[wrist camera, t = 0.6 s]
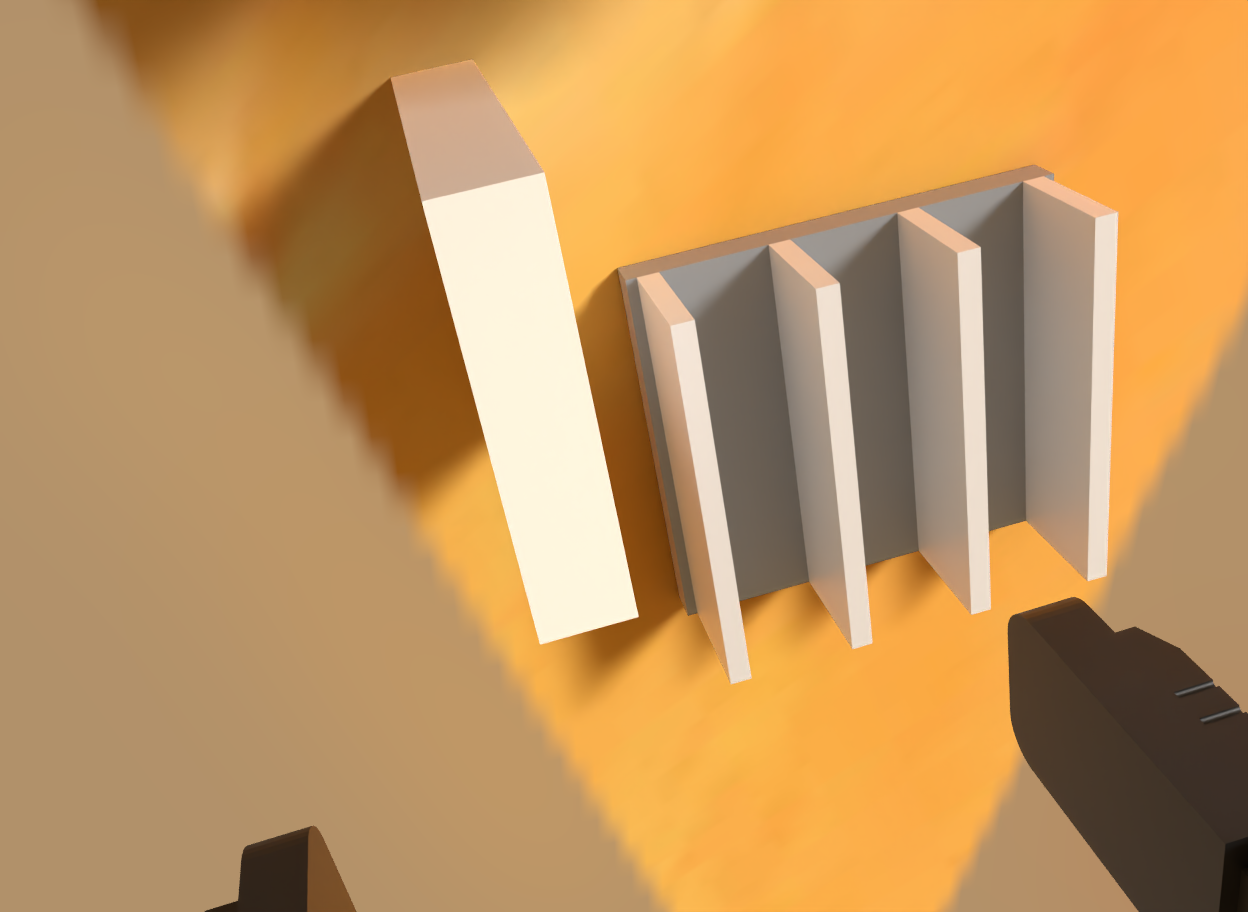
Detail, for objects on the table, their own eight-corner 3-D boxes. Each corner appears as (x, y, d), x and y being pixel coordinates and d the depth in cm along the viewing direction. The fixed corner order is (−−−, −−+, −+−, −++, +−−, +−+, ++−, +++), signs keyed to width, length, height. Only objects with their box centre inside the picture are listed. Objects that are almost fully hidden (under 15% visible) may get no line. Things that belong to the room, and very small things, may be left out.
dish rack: (617, 268, 32) (657, 329, 28) (1034, 164, 33) (1129, 209, 29) (679, 597, 37) (720, 686, 33) (1036, 497, 38) (1116, 572, 34)
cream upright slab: (390, 77, 28) (421, 201, 19) (472, 58, 28) (544, 172, 19) (478, 407, 33) (539, 644, 23) (548, 389, 33) (638, 616, 23)
